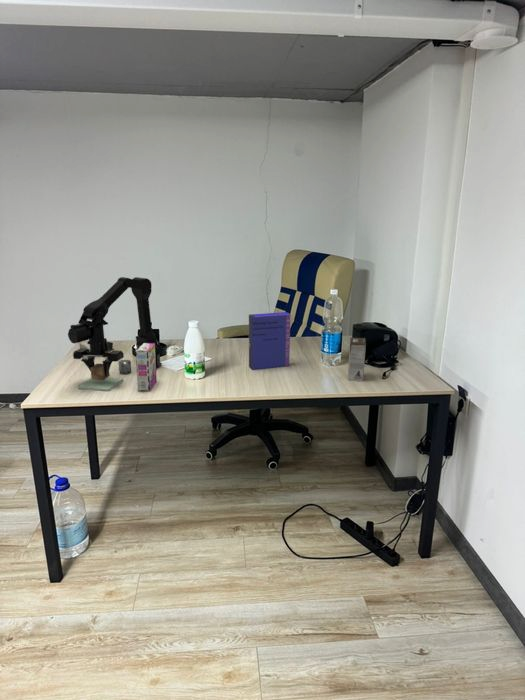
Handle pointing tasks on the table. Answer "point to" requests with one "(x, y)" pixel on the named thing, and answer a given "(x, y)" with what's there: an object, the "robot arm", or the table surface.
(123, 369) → the metal cylinder
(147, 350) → the candy bar box
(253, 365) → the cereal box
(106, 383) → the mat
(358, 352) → the coffee box
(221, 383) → the table surface
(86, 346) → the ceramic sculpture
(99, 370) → the walnut block
